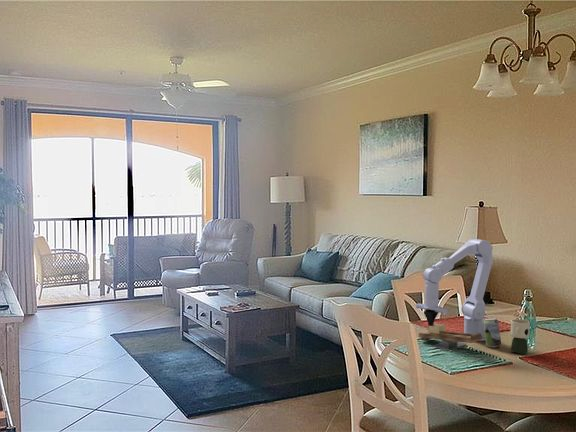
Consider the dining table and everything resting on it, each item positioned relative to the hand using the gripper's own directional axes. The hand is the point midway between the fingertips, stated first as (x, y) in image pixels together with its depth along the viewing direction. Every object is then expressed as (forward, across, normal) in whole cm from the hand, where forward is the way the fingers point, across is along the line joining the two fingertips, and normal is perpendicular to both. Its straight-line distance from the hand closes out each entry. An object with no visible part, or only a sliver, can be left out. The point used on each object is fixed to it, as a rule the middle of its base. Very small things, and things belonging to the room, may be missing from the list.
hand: (430, 327), depth 241 cm
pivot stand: (+6, +9, 0) cm, 11 cm away
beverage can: (+6, +21, +14) cm, 26 cm away
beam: (+4, +9, 0) cm, 10 cm away
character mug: (+6, +33, +14) cm, 36 cm away
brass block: (+2, +4, 0) cm, 4 cm away
